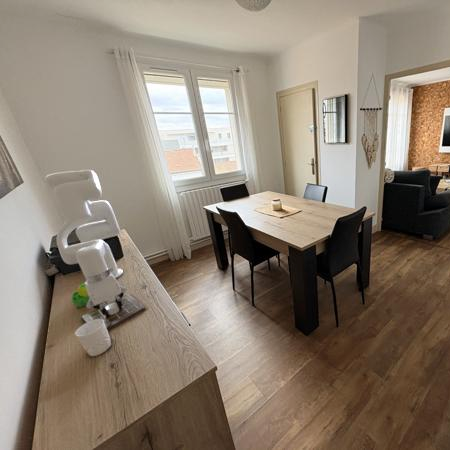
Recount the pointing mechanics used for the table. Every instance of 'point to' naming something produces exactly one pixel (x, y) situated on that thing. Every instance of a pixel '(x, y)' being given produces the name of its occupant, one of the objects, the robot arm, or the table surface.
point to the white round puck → (112, 308)
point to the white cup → (94, 337)
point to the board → (127, 311)
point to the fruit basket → (80, 296)
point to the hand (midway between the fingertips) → (113, 311)
